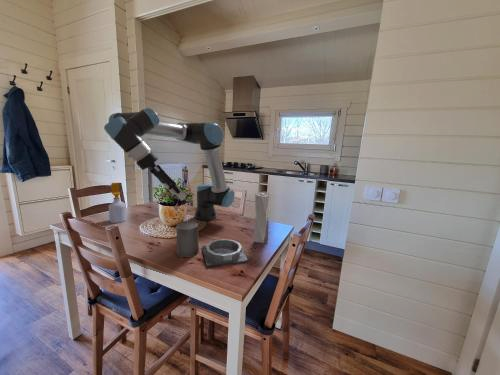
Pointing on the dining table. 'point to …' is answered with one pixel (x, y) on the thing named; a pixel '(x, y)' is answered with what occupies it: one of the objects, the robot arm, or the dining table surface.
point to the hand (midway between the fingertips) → (179, 195)
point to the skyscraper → (261, 218)
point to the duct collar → (223, 253)
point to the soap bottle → (117, 206)
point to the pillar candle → (187, 238)
